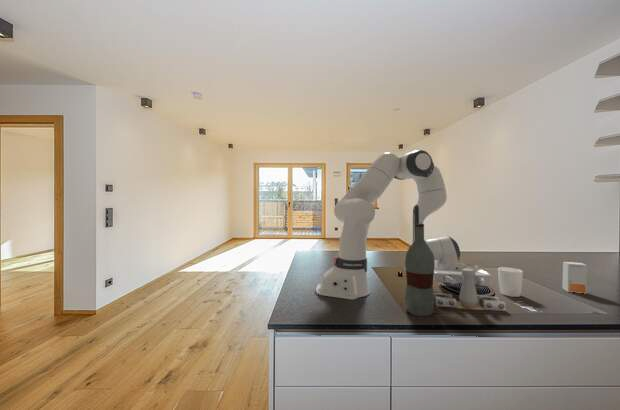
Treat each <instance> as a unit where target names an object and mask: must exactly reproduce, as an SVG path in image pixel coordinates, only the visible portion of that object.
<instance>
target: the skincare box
mask: <svg viewBox="0 0 620 410" xmlns="http://www.w3.org/2000/svg"><path fill="white" fill-rule="evenodd" d="M587 280H588V265H587V264H585V263H582V262H576V261H575V262H574V261H562V283H561V284H562V286H561V288H562V290H563V289H564V290H563V291H566V292H567V293H573V292H575V294H581V293H584V294H583V295H586V294H587V287H588V286H587V285H588V283H587Z"/></svg>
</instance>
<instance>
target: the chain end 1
mask: <svg viewBox="0 0 620 410" xmlns="http://www.w3.org/2000/svg"><path fill="white" fill-rule="evenodd" d="M433 293H434V301H435V306H436V307H439V308H440V307H442V308H443V307H444V308H456V309H457V307H456V301H457V298H455V297H453V294H451V293H443V292H441V293H439V292H433Z"/></svg>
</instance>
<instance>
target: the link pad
mask: <svg viewBox="0 0 620 410" xmlns="http://www.w3.org/2000/svg"><path fill="white" fill-rule="evenodd" d="M456 309H462V310H463V309H465V310H478V311H479V310H481V311H485V310H484V309H483V306H482V305H479V304H478V302H477V304H476V306H475V307H473V308H471V307H465V306H463V305H462V303H461V301H460V300H458V301H457V300H456Z"/></svg>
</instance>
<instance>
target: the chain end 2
mask: <svg viewBox="0 0 620 410" xmlns="http://www.w3.org/2000/svg"><path fill="white" fill-rule="evenodd" d="M477 297H478V302H477V303H478V304H479V305H480V306H482V308H483V309H484V310H483V311H485V310H486V311H501V312H506V301H504V300H500V297H498V296H489V295H488V296H486V295H477Z"/></svg>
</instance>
